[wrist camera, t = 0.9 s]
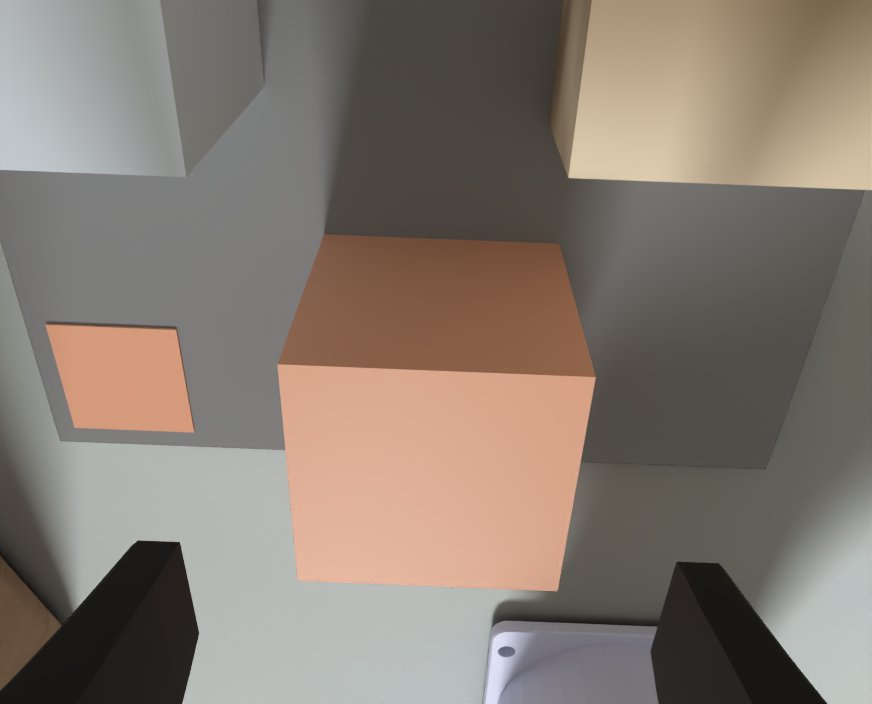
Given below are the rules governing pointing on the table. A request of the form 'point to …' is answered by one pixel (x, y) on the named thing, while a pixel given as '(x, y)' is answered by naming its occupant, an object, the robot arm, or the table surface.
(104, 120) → the blue-grey cube
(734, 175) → the maple block
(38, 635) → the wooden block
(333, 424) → the terracotta cube
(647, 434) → the grey square mat
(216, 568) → the table surface
